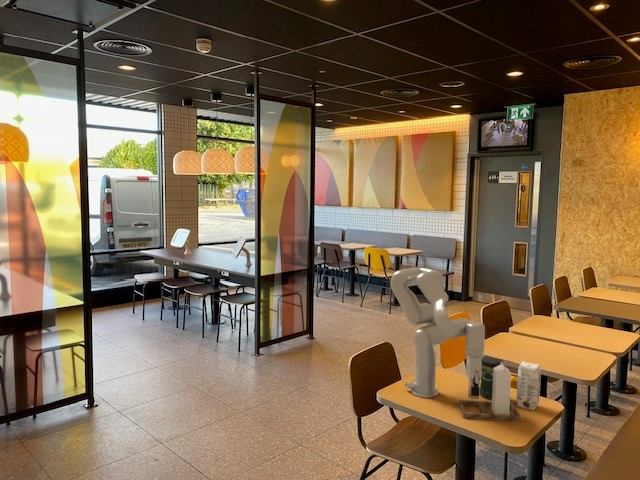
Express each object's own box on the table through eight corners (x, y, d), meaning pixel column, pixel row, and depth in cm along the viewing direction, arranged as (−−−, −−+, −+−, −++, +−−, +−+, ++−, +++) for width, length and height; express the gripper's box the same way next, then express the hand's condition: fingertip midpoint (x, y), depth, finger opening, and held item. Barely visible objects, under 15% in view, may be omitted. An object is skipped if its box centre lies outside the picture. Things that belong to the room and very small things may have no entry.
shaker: (469, 398, 202) (469, 377, 201) (467, 394, 207) (467, 373, 206) (480, 399, 202) (480, 378, 201) (478, 394, 206) (478, 374, 205)
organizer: (463, 418, 199) (463, 413, 199) (458, 404, 212) (458, 399, 212) (521, 422, 196) (521, 417, 196) (512, 407, 209) (512, 403, 209)
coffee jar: (504, 397, 220) (506, 358, 218) (496, 402, 214) (498, 362, 212) (485, 391, 227) (486, 353, 225) (476, 395, 221) (478, 356, 219)
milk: (505, 411, 206) (508, 361, 204) (509, 417, 200) (512, 366, 198) (491, 409, 207) (493, 360, 205) (494, 416, 201) (496, 365, 199)
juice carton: (535, 412, 205) (538, 369, 203) (515, 406, 210) (517, 364, 208) (540, 405, 211) (542, 364, 209) (519, 400, 216) (521, 360, 214)
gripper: (462, 345, 211) (461, 385, 213) (469, 357, 195) (468, 400, 196) (480, 345, 210) (478, 385, 212) (488, 358, 194) (487, 401, 195)
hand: (473, 392), depth 204 cm, fingers closed on shaker, 4 cm apart
